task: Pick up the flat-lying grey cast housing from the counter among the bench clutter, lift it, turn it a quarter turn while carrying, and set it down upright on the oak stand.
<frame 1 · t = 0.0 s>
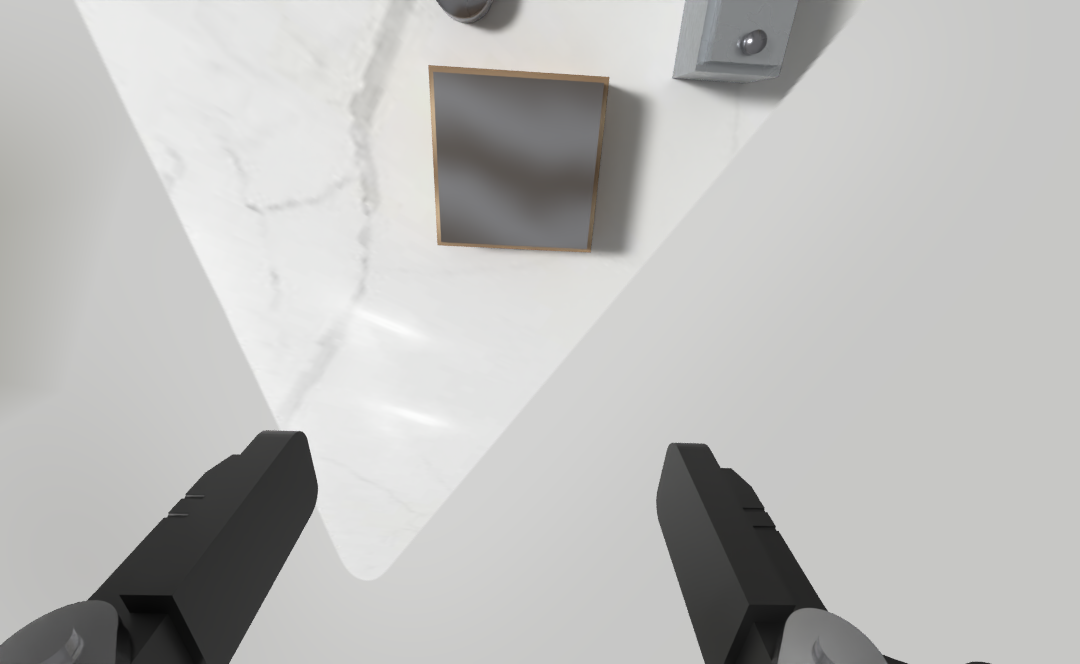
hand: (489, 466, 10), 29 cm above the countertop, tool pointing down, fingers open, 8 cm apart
stand: (518, 163, 34), on the countertop
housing: (722, 6, 30), on the countertop
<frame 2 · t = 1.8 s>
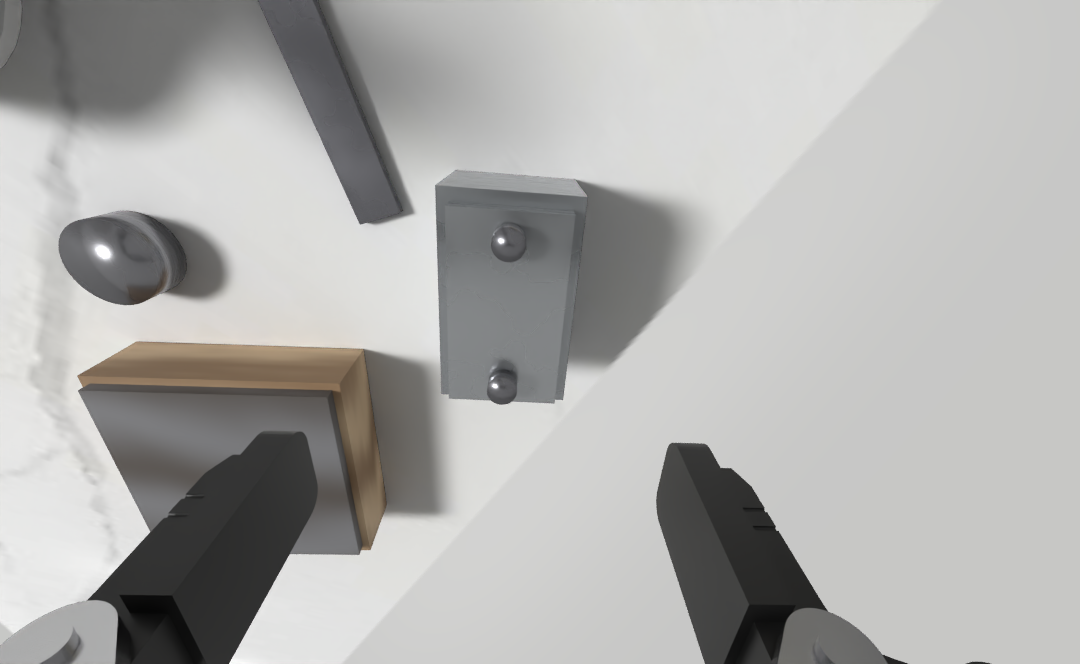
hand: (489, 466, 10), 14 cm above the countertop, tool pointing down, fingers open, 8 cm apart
dark grey domed cap: (144, 251, 21), on the countertop
bar: (327, 76, 18), on the countertop
stand: (275, 432, 26), on the countertop
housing: (511, 267, 22), on the countertop
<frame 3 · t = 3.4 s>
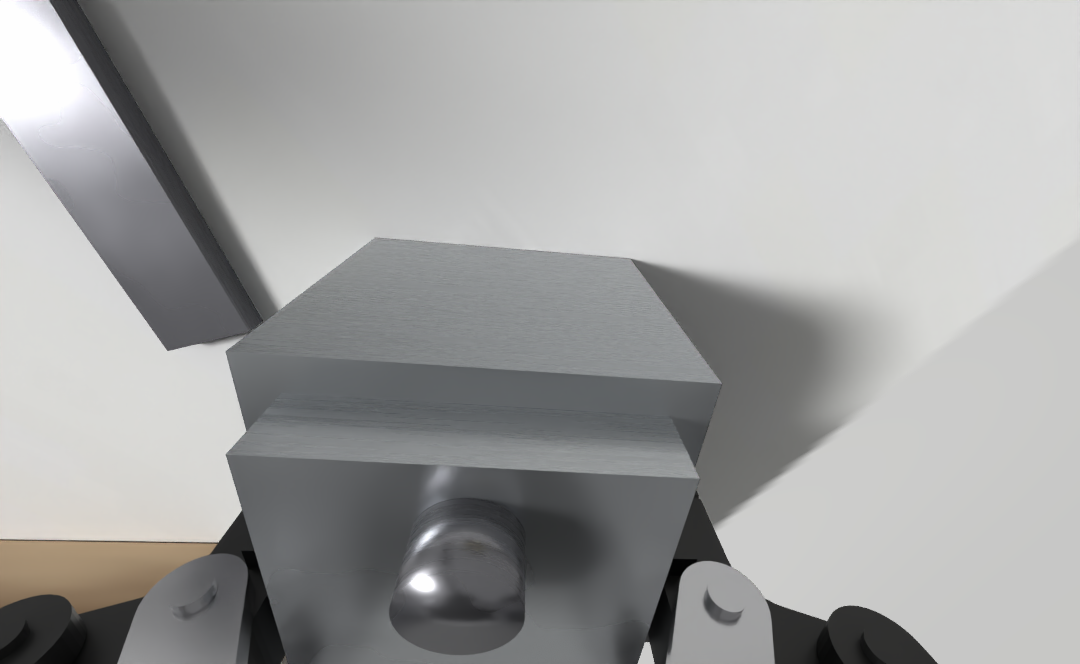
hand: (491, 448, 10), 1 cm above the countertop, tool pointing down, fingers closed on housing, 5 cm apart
bar: (58, 31, 8), on the countertop
stand: (100, 655, 15), on the countertop
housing: (495, 417, 11), on the countertop, touching gripper
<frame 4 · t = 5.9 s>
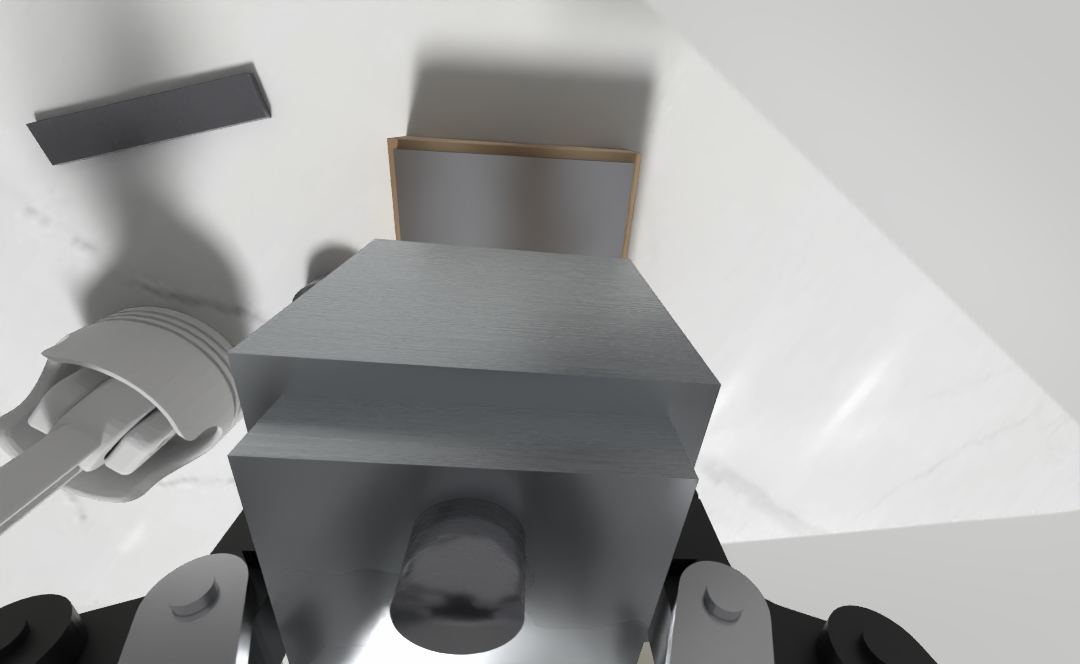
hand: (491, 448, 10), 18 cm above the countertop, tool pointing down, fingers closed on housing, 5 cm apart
bar: (161, 120, 23), on the countertop
stand: (514, 251, 26), on the countertop
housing: (495, 417, 11), point 16 cm above the countertop, touching gripper
engine component: (174, 376, 29), on the countertop
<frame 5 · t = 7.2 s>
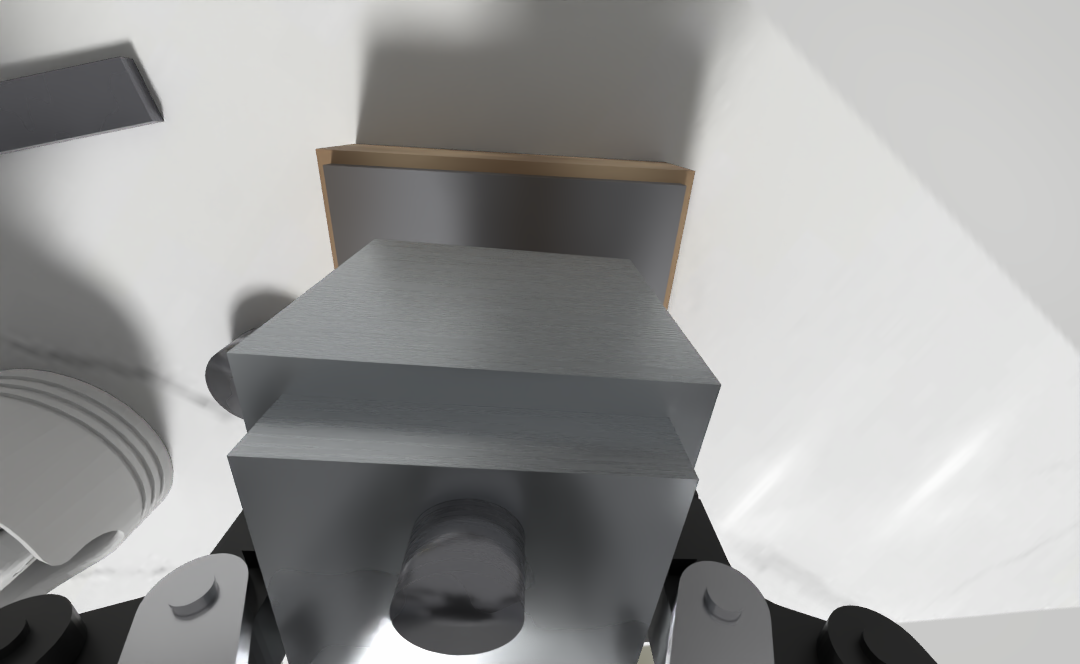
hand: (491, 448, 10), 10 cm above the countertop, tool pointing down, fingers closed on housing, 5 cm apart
dark grey domed cap: (277, 363, 21), on the countertop
bar: (9, 122, 16), on the countertop
stand: (508, 297, 19), on the countertop
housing: (495, 417, 11), point 9 cm above the countertop, touching gripper
engine component: (69, 453, 23), on the countertop
when the fingers open (6 cm above the countertop, at t = 8.4 s): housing drops 1 cm, resting on stand.
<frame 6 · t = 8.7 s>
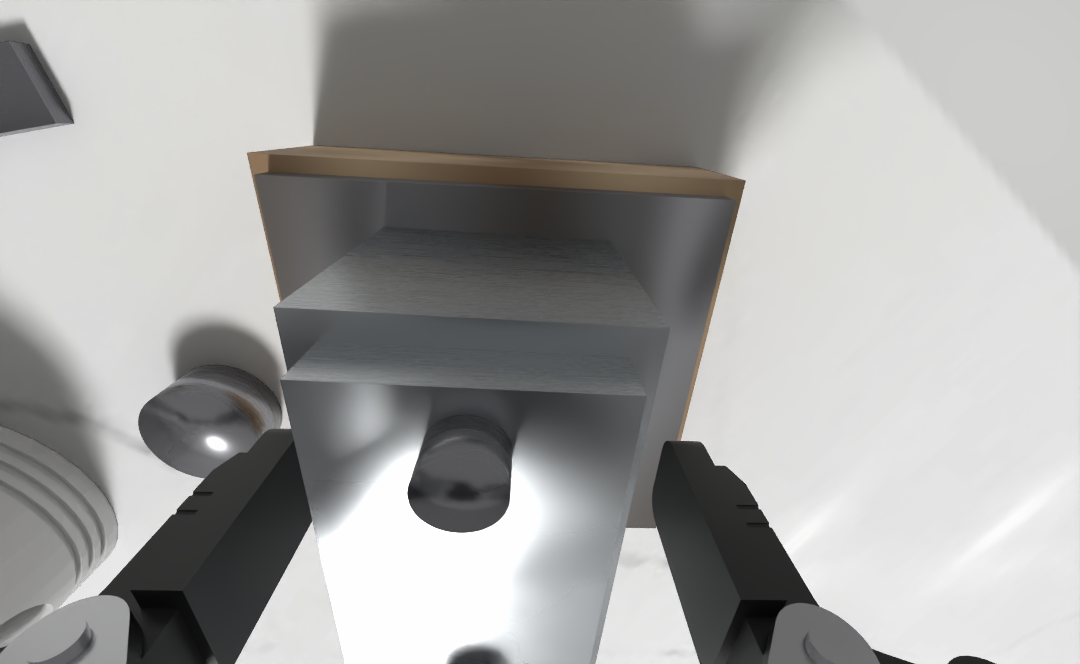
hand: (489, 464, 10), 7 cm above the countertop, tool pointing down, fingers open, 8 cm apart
dark grey domed cap: (232, 405, 17), on the countertop
stand: (505, 329, 16), on the countertop
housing: (494, 388, 12), point 4 cm above the countertop, touching stand
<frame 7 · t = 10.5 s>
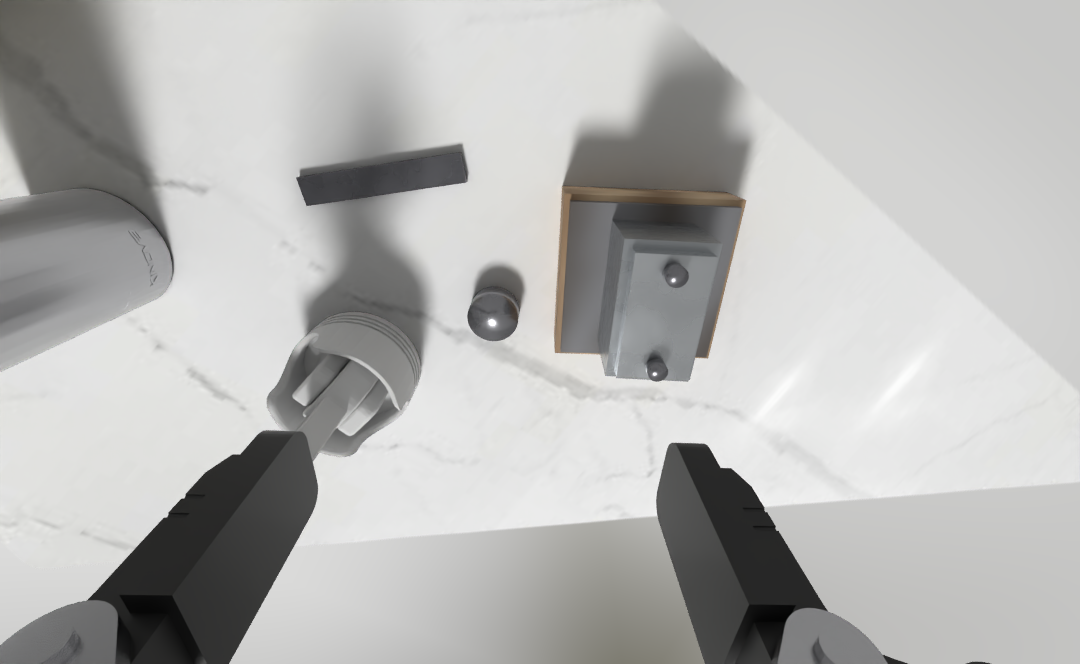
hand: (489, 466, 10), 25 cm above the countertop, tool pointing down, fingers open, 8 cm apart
dark grey domed cap: (495, 308, 36), on the countertop
bar: (385, 178, 32), on the countertop
stand: (633, 268, 34), on the countertop
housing: (642, 285, 30), point 4 cm above the countertop, touching stand
engine component: (362, 365, 39), on the countertop
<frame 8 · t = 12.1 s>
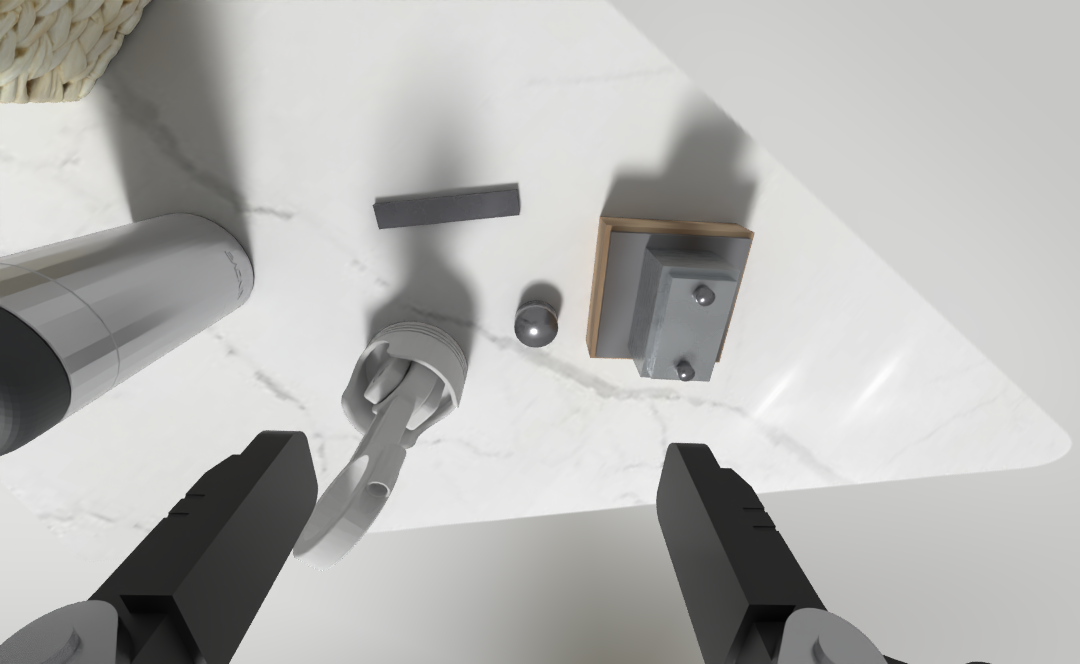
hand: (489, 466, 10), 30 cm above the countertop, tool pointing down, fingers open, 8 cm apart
dark grey domed cap: (536, 319, 41), on the countertop
bar: (448, 207, 37), on the countertop
stand: (656, 285, 40), on the countertop
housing: (668, 301, 36), point 4 cm above the countertop, touching stand
engine component: (414, 368, 43), on the countertop
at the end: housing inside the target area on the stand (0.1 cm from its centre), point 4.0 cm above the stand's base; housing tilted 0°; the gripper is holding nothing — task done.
